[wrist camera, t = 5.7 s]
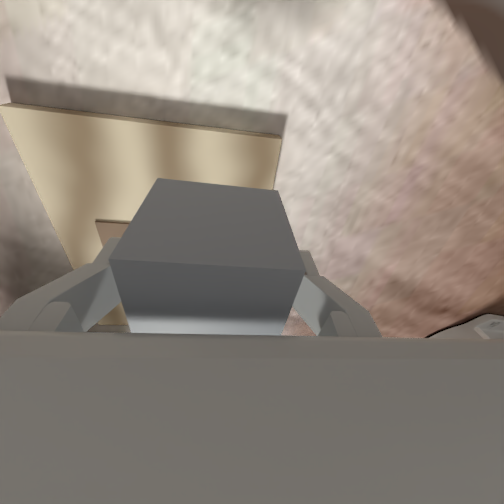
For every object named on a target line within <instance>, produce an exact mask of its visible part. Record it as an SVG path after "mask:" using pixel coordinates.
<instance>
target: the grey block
mask: <svg viewBox="0 0 504 504" xmlns="http://www.w3.org/2000/svg"><path fill="white" fill-rule="evenodd" d="M108 260H109V263H110V266H111V270H112V273H113V276H114V279H115V283H116V286H117V289H118V292H119V295H120V299H121V302H122V305H123V308H124V312H125V315H126V318H127V321H128V324H129V328H130V331H131V333H170V334H225V335H281V333H282V331H283V328H284V326H285V323H286V321H287V318H288V315H289V313H290V310H291V308H292V305H293V303H294V300H295V297H296V295H297V292H298V290H299V287H300V285H301V282H302V279H303V277H304V274H305V272H306V269H305V266H304V263H303V261H302V258H301V255H300V252H299V249H298V246H297V243H296V241H295V238H294V235H293V232H292V229H291V226H290V224H289V221H288V218H287V215H286V212H285V209H284V206H283V204H282V201H281V198H280V195H279V192H278V191H277V190H267V189H258V188H248V187H239V186H230V185H220V184H211V183H201V182H192V181H182V180H173V179H163V178H157V180H156V181H155V183H154V185H153V186H152V188H151V189H150V191H149V193H148V194H147V196H146V198H145V199H144V201H143V203H142V204H141V206H140V208H139V209H138V211H137V212H136V214H135V216H134V217H133V219H132V221H131V222H130V224H129V226H128V227H127V229H126V230H125V232H124V234H123V235H122V237H121V239H120V240H119V242H118V244H117V245H116V247H115V249H114V250H113V252H112V253H111V255H110V257H109V258H108Z"/></svg>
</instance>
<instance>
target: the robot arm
mask: <svg viewBox="0 0 504 504" xmlns="http://www.w3.org/2000/svg"><path fill="white" fill-rule="evenodd" d="M120 239H121V237H111V238H109V239H108V241H107V242H106V244H105V245H104V247H103V248H102V250H101V251H100V253H99V254H98V255H97V257H96V258H95V260H94V261H93V263H87V264H85V265H83V266H81V267H79V268H77V269H75V270H73V271H71V272H69V273H67V274H65V275H63V276H61V277H59V278H58V279H56V280H54V281H52V282H50V283H48V284H46V285H44V286H42V287H40V288H38V289H36V290H34V291H32V292H30V293H28V294H26V295H24V296H22V297H20V298H18V299H16V301H15V302H14V303H13V304H12V305H11V306H10V307H9V308H8V309H7V311H6V312H5V313H4V314H3V315H2V316H1V317H0V504H504V316H499V315H493V314H486V315H483V316H480V317H478V318H476V319H474V320H472V321H470V322H468V323H465V324H462V325H459V326H456V327H453V328H450V329H447V330H444V331H442V332H439V333H437V334H435V335H433V336H431V337H429V338H392V337H382V335H381V333H380V331H379V330H378V328H377V326H376V324H375V322H374V320H373V318H372V317H371V315H370V313H369V311H367V310H366V309H365V308H363V307H362V306H361V305H360V304H358V303H357V302H356V301H354V300H353V299H352V298H351V297H349V296H348V295H347V294H345V293H344V292H343V291H342V290H340V289H339V288H338V287H336V286H335V285H334V284H333V283H331V282H330V281H329V280H327V279H326V278H325V277H324V276H320V275H319V273H318V270H317V268H316V265H315V263H314V261H313V258H312V256H311V253H310V252H309V251H307V250H299V252H300V255H301V258H302V261H303V263H304V266H305V269H306V272H305V274H304V277H303V279H302V282H301V285H300V287H299V290H298V292H297V295H296V297H295V300H294V303H293V305H292V307H293V308H294V309H295V310H296V311H297V313H298V314H299V315H300V316H301V317H302V319H303V320H304V321H305V322H306V323H307V325H308V326H309V327H310V328H311V329H312V331H313V332H314V333H315V334H316V335H317V336H281V335H225V334H170V333H114V332H87V331H88V330H89V329H90V328H91V327H92V326H94V325H95V324H96V323H97V322H98V321H99V320H101V319H102V318H103V317H104V316H105V315H106V314H108V313H109V312H110V311H111V310H112V309H113V308H114V307H116V306H117V305H118V304H119V303H120V302H121V299H120V295H119V292H118V289H117V286H116V283H115V279H114V276H113V273H112V270H111V266H110V263H109V260H108V258H109V257H110V255H111V253H112V252H113V250H114V249H115V247H116V245H117V244H118V242H119V240H120Z"/></svg>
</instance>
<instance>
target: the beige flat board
mask: <svg viewBox="0 0 504 504" xmlns="http://www.w3.org/2000/svg"><path fill="white" fill-rule="evenodd" d="M0 113H1V115H2V117H3V119H4V122H5V124H6V126H7V128H8V130H9V132H10V134H11V137H12V139H13V141H14V143H15V145H16V147H17V150H18V152H19V154H20V156H21V158H22V160H23V162H24V165H25V167H26V169H27V171H28V173H29V175H30V178H31V180H32V182H33V184H34V186H35V188H36V191H37V193H38V195H39V197H40V199H41V201H42V203H43V206H44V208H45V210H46V212H47V214H48V216H49V219H50V221H51V223H52V225H53V227H54V229H55V231H56V234H57V236H58V238H59V240H60V242H61V244H62V247H63V249H64V251H65V253H66V255H67V257H68V259H69V262H70V264H71V266H72V268H73V270H75V269H77V268H79V267H81V266H83V265H85V264H87V263H93V261H94V260H95V258H96V257H97V255H98V254H99V253H100V251H101V250H102V248H103V247H104V245H105V244H106V242H107V241H108V239H109V238H111V237H122V235H123V234H124V232H125V230H126V229H127V227H128V226H129V224H130V222H131V221H132V219H133V217H134V216H135V214H136V212H137V211H138V209H139V208H140V206H141V204H142V203H143V201H144V199H145V198H146V196H147V194H148V193H149V191H150V189H151V188H152V186H153V185H154V183H155V181H156V180H157V178H163V179H173V180H182V181H192V182H201V183H211V184H220V185H230V186H239V187H248V188H258V189H267V190H272V189H273V184H274V179H275V173H276V168H277V163H278V158H279V153H280V148H281V142H282V139H281V137H280V136H279V135H273V134H265V133H256V132H248V131H240V130H232V129H223V128H215V127H207V126H199V125H191V124H182V123H174V122H166V121H158V120H149V119H141V118H133V117H125V116H116V115H108V114H100V113H92V112H83V111H75V110H67V109H59V108H50V107H42V106H34V105H26V104H17V103H7V104H2V105H0ZM98 324H99V325H129V324H128V321H127V318H126V315H125V312H124V308H123V305H122V302H120V303H119V304H118V305H117V306H116V307H114V308H113V309H112V310H111V311H110V312H109V313H108V314H106V315H105V316H104V317H103V318H102V319H101V320H99V321H98Z"/></svg>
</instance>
